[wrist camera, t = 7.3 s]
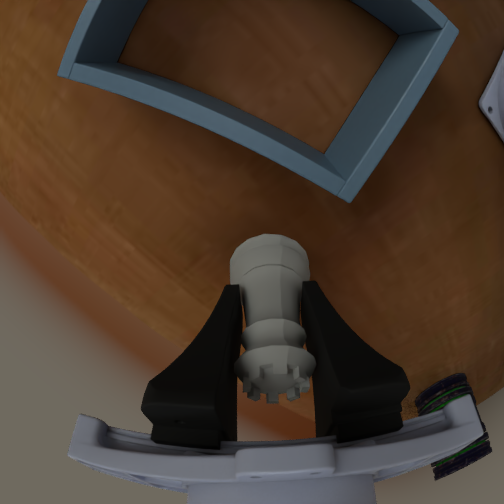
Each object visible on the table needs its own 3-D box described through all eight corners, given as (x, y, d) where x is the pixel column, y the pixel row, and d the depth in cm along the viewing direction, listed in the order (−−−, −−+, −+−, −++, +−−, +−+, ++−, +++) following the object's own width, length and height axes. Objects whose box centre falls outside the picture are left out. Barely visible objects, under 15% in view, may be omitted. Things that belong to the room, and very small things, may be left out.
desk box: (414, 35, 10) (460, 31, 7) (327, 171, 16) (350, 204, 12) (186, -72, 7) (166, -106, 3) (101, 71, 12) (56, 76, 8)
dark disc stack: (402, 405, 35) (421, 485, 23) (447, 371, 30) (477, 459, 18) (435, 404, 38) (454, 472, 25) (474, 373, 32) (501, 445, 20)
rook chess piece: (239, 220, 15) (227, 348, 8) (319, 239, 15) (357, 363, 9) (223, 284, 17) (209, 405, 11) (293, 297, 18) (307, 414, 11)
